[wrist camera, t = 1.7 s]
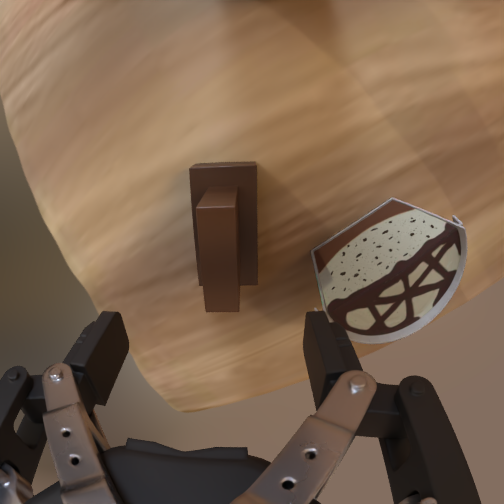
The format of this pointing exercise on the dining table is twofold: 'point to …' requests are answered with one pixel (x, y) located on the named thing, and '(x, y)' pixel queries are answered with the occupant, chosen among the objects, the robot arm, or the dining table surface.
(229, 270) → the brown stepped block
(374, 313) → the food container
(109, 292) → the dining table surface
